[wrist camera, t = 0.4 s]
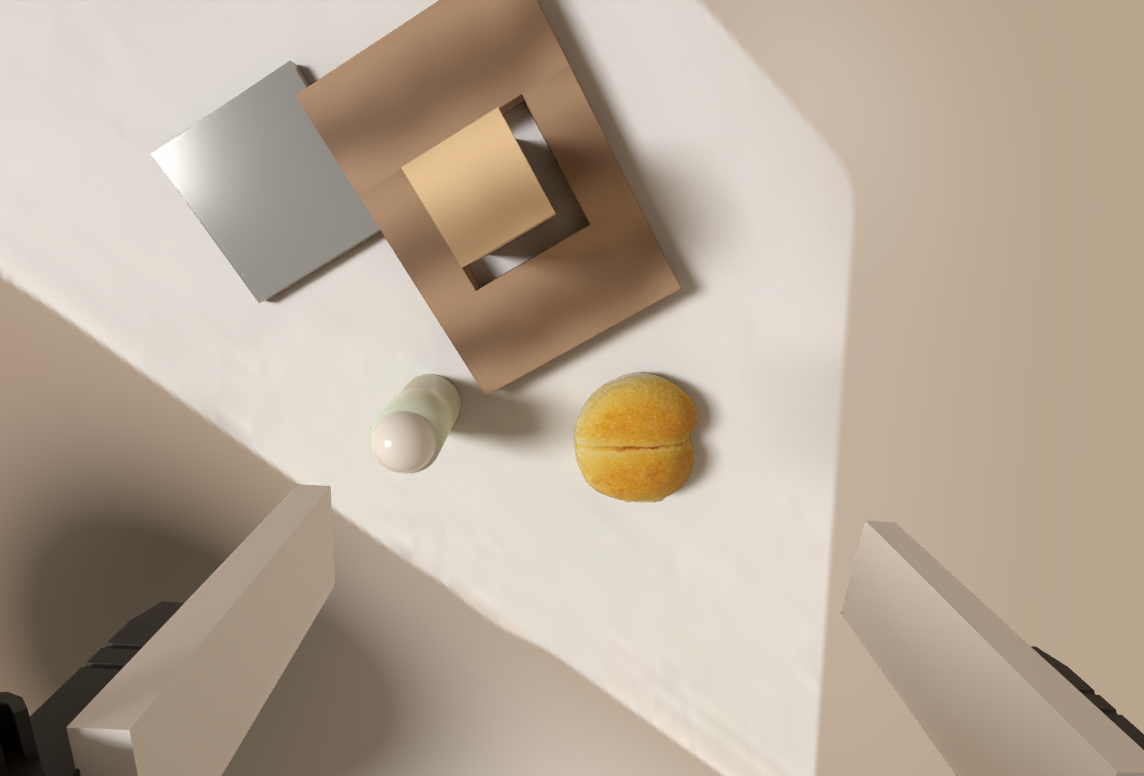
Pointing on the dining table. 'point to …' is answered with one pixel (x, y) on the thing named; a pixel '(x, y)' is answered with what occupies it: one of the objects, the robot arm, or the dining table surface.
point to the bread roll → (636, 438)
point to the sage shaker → (415, 424)
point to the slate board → (267, 186)
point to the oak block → (479, 188)
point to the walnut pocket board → (444, 107)
